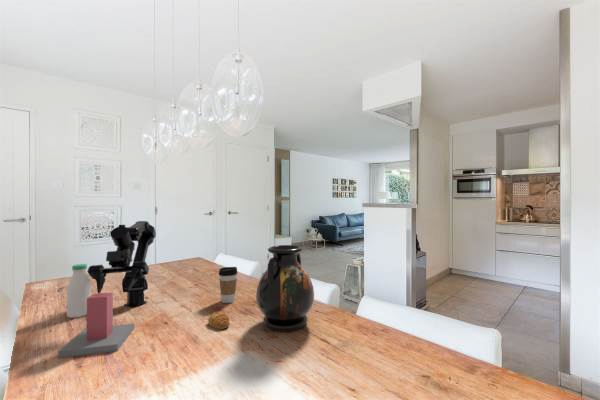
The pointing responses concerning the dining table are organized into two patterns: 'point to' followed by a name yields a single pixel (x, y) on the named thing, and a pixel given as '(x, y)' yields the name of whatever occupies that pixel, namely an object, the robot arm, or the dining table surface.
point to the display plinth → (96, 342)
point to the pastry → (219, 320)
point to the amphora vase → (285, 290)
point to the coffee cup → (228, 284)
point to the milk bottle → (78, 292)
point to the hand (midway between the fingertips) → (113, 291)
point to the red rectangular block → (99, 316)
